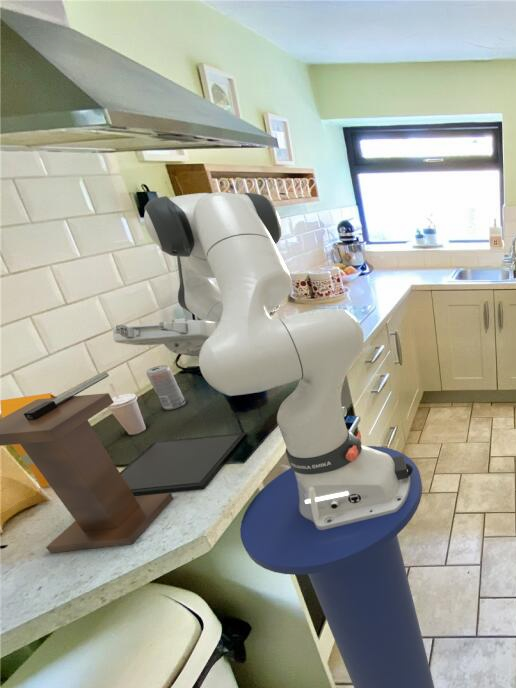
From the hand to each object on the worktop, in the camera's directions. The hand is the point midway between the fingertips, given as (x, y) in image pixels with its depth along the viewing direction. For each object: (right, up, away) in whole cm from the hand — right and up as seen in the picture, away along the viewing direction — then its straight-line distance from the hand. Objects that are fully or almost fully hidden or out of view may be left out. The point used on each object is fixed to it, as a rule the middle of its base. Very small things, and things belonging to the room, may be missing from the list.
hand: (140, 327), depth 90 cm
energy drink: (-18, -19, +32) cm, 42 cm away
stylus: (+2, -15, -16) cm, 22 cm away
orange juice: (-19, -33, +6) cm, 39 cm away
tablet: (+3, -31, +6) cm, 32 cm away
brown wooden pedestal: (+4, -39, -10) cm, 41 cm away
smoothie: (-19, -25, +21) cm, 38 cm away
